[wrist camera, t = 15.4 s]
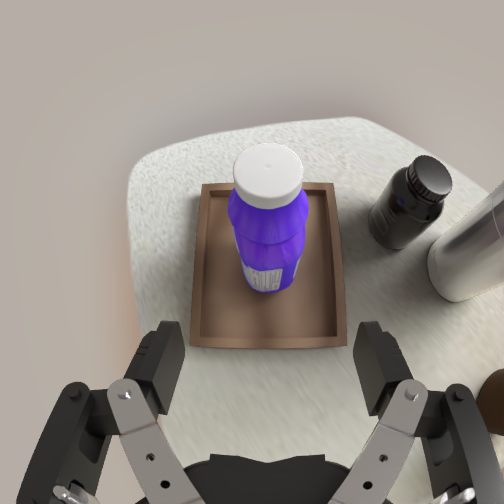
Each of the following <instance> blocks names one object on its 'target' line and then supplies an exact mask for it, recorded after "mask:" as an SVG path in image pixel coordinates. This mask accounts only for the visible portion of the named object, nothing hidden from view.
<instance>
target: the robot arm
mask: <svg viewBox="0 0 504 504" xmlns="http://www.w3.org/2000/svg"><path fill="white" fill-rule="evenodd" d="M427 267H428V273H429V277H430V280H431V282H432V284H433V286H434V288H435V289H436V291H437V292H438V293H439V294H440V295H441V296H442V297H443V298H445V299H447V300H449V301H451V302H461V301H464V300H467V299H469V298H472V297H474V296H477V295H480V294H482V293H485V292H487V291H490V290H492V289H494V288H497V287H499V286H501V285H504V181H503V182H502V183H501V184H500V185H499V186H498V187H497V188H496V189H495V190H494V191H493V192H492V193H490V194H489V195H488V196H487V197H486V198H485V199H484V200H483V201H482V202H481V203H480V204H478V205H477V206H476V207H475V208H474V209H473V210H472V211H471V212H469V213H468V214H467V215H466V216H465V217H464V218H462V219H461V220H460V221H459V222H458V223H457V224H455V225H454V226H453V227H452V228H450V229H449V230H448V231H447V232H446V233H444V234H443V235H442V236H441V237H439V238H438V239H437V240H436V241H435V242H434V243H433V244H432V246H431V248H430V250H429V253H428V259H427ZM184 357H185V347H184V342H183V338H182V333H181V329H180V324H179V322H177V321H161V322H160V324H159V326H158V328H157V331H150V332H149V333H148V334H147V335H145V336H144V337H143V339H142V341H141V343H140V345H139V348H138V349H137V351H136V354H135V355H134V357H133V359H132V361H131V363H130V365H129V367H128V369H127V371H126V374H125V376H124V378H123V379H120V380H117V381H115V382H114V383H112V384H111V385H110V387H109V388H108V389H103V390H89V388H88V386H87V385H86V384H84V383H82V382H73V383H70V384H68V385H67V386H66V387H65V388H64V389H63V390H62V392H61V394H60V396H59V398H58V400H57V402H56V404H55V406H54V408H53V411H52V412H51V415H50V417H49V419H48V421H47V423H46V425H45V427H44V430H43V432H42V434H41V437H40V439H39V441H38V444H37V446H36V449H35V450H34V453H33V455H32V458H31V460H30V463H29V465H28V468H27V471H26V473H25V476H24V479H23V481H22V484H21V488H20V490H19V493H18V496H17V500H16V504H100V502H99V501H98V500H97V498H95V493H96V490H97V486H98V482H99V478H100V475H101V471H102V468H103V464H104V461H105V457H106V454H107V451H108V447H109V444H110V441H111V438H112V435H119V438H120V441H121V443H122V446H123V448H124V451H125V453H126V456H127V457H128V460H129V463H130V465H131V467H132V469H133V471H134V473H135V475H136V478H137V480H138V482H139V484H140V486H141V488H142V489H143V492H144V493H145V496H146V497H144V498H143V499H141V500H140V501H138V502H137V503H135V504H393V503H391V502H390V501H389V500H387V499H386V496H387V495H388V493H389V491H390V489H391V488H392V486H393V484H394V482H395V480H396V478H397V476H398V474H399V472H400V470H401V468H402V466H403V464H404V462H405V460H406V458H407V456H408V454H409V451H410V449H411V447H412V445H413V442H414V440H415V437H421V441H422V445H423V449H424V453H425V457H426V462H427V466H428V471H429V476H430V481H431V486H432V492H433V497H434V500H433V501H432V502H431V503H430V504H504V480H503V476H502V473H501V469H500V466H499V463H498V460H497V456H496V453H495V450H494V447H493V445H492V442H491V439H490V436H489V433H488V431H487V428H486V426H485V423H484V420H483V418H482V416H481V413H480V411H479V408H478V406H477V404H476V401H475V399H474V397H473V395H472V392H471V391H470V389H469V388H468V387H466V386H465V385H462V384H452V385H450V386H449V387H448V388H447V389H446V391H445V392H441V391H430V390H427V389H426V387H425V386H424V385H423V384H422V383H421V382H419V381H417V380H414V379H413V376H412V374H411V372H410V370H409V367H408V365H407V363H406V361H405V359H404V356H403V355H402V352H401V350H400V349H399V346H398V343H397V341H396V339H395V338H394V337H393V336H392V335H391V334H390V333H389V332H388V331H387V332H382V330H381V328H380V326H379V323H378V322H377V321H371V322H361V323H360V324H359V328H358V332H357V336H356V340H355V344H354V348H353V358H354V362H355V366H356V369H357V373H358V376H359V380H360V384H361V387H362V391H363V395H364V398H365V402H366V406H367V410H368V414H369V416H376V415H378V419H379V421H378V423H377V425H376V427H375V428H374V430H373V432H372V434H371V435H370V437H369V439H368V441H367V442H366V444H365V446H364V447H363V449H362V450H361V452H360V454H359V455H358V457H357V458H356V460H355V461H354V463H353V464H352V466H351V467H350V469H348V468H347V467H345V466H343V465H340V464H338V463H334V462H330V461H325V454H322V455H309V456H296V457H292V458H288V459H284V460H280V461H275V462H271V463H264V462H260V461H256V460H252V459H248V458H244V457H240V456H231V455H218V454H210V459H209V460H207V461H202V462H198V463H195V464H192V465H190V466H187V467H186V468H183V467H182V465H181V464H180V462H179V460H178V459H177V457H176V455H175V454H174V452H173V450H172V449H171V447H170V445H169V443H168V442H167V440H166V438H165V436H164V434H163V432H162V431H161V429H160V427H159V425H158V423H157V418H158V415H159V414H163V415H167V414H168V410H169V407H170V403H171V400H172V397H173V393H174V390H175V387H176V383H177V380H178V377H179V374H180V370H181V367H182V364H183V361H184Z"/></svg>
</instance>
